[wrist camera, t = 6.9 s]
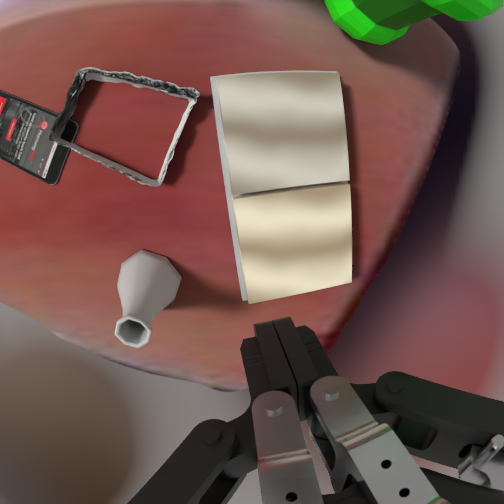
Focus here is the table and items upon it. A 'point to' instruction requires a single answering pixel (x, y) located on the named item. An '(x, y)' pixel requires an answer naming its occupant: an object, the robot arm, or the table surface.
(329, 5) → the plastic bottle
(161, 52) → the table surface
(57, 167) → the smartphone
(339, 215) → the cream wavy square sheet
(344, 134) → the laid plank
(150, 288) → the flask
